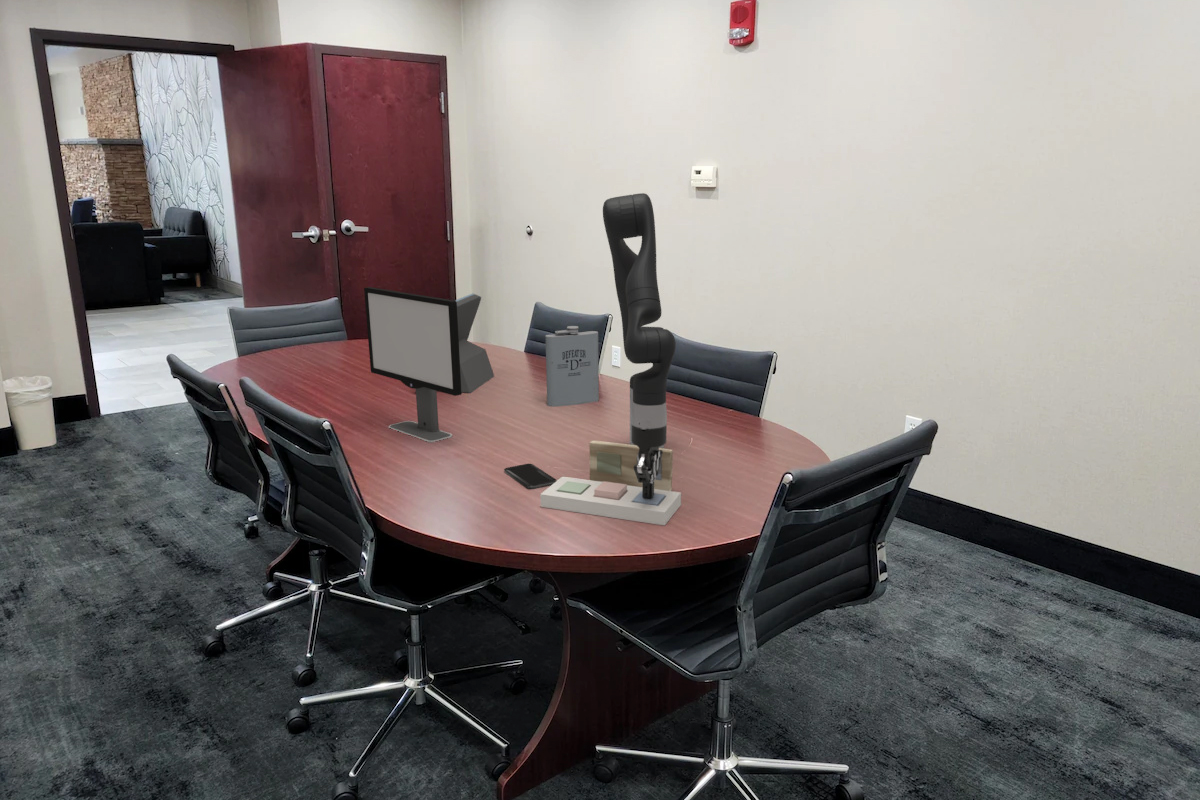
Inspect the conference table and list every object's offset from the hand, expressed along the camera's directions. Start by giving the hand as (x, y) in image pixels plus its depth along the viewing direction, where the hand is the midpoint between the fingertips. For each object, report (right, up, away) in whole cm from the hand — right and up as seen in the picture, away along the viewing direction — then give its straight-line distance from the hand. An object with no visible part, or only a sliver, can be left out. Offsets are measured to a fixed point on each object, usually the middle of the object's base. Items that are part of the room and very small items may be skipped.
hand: (648, 497), depth 185 cm
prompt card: (-3, +1, +16) cm, 16 cm away
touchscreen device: (-61, +27, +114) cm, 132 cm away
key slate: (0, -3, +1) cm, 3 cm away
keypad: (-8, -2, +4) cm, 9 cm away
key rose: (-8, -1, +4) cm, 9 cm away
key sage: (-17, -1, +7) cm, 18 cm away
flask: (-19, +20, +87) cm, 92 cm away
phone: (-28, +2, +22) cm, 36 cm away
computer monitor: (-62, +12, +58) cm, 86 cm away
